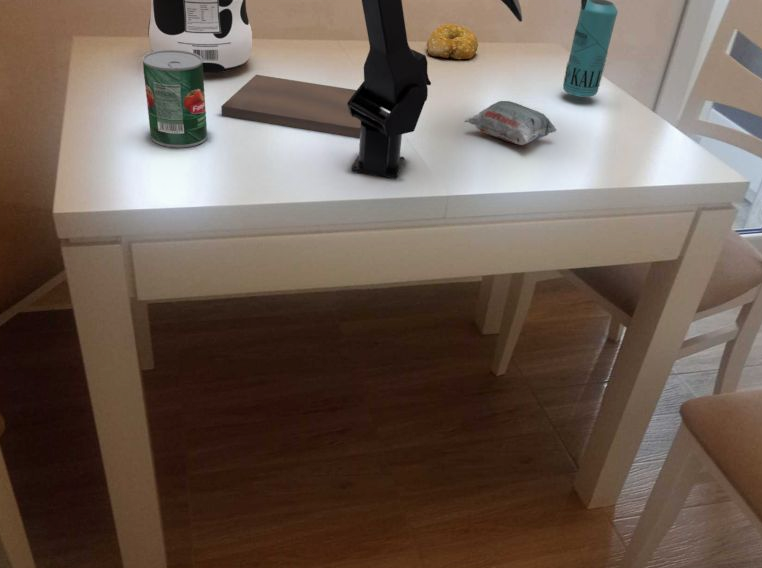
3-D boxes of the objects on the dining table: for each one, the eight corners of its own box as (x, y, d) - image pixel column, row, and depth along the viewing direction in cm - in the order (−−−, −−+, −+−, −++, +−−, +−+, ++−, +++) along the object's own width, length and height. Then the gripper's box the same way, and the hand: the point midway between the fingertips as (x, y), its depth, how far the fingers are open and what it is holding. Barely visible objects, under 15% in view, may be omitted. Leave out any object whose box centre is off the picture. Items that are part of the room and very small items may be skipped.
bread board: (361, 138, 116) (362, 128, 115) (221, 115, 118) (221, 106, 117) (383, 103, 129) (383, 94, 128) (256, 83, 131) (256, 74, 130)
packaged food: (524, 157, 116) (530, 125, 113) (461, 132, 121) (466, 101, 118) (554, 143, 121) (561, 113, 118) (493, 120, 127) (498, 90, 124)
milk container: (205, 43, 145) (199, -63, 134) (273, 67, 138) (272, -44, 127) (130, 61, 134) (116, -54, 123) (199, 88, 126) (192, -31, 115)
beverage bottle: (573, 90, 143) (600, -27, 131) (603, 101, 139) (633, -18, 127) (552, 96, 139) (578, -24, 127) (582, 108, 135) (612, -15, 123)
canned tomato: (146, 128, 112) (137, 50, 105) (201, 124, 115) (196, 48, 108) (155, 150, 106) (147, 69, 100) (213, 145, 109) (208, 67, 102)
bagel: (413, 50, 154) (416, 25, 151) (451, 43, 160) (454, 19, 157) (449, 64, 148) (452, 39, 145) (487, 56, 155) (491, 32, 152)
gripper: (607, -139, 104) (615, -31, 116) (471, -106, 110) (492, -6, 122) (609, -95, 98) (617, 14, 110) (466, -62, 104) (488, 38, 116)
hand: (551, 14), depth 115 cm, fingers open, 9 cm apart
